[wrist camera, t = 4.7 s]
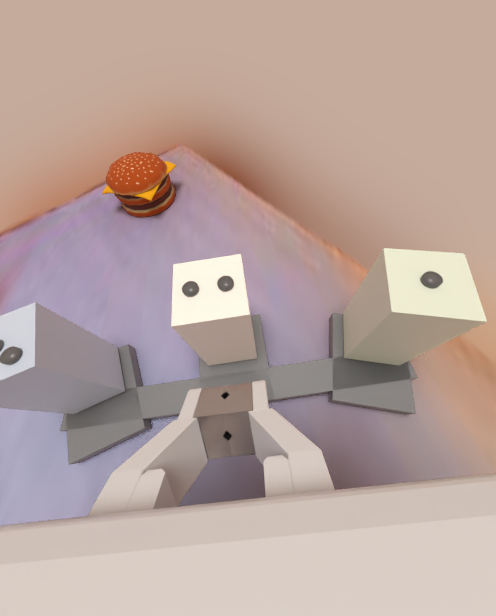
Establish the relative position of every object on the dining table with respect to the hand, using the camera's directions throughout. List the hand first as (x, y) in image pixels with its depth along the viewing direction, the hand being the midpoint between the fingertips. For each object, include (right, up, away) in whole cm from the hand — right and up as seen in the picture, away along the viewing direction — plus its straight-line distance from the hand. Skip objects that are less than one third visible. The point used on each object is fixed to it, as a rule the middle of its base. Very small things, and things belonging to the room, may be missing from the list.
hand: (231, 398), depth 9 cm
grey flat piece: (-1, -4, +15) cm, 16 cm away
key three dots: (-15, -4, +15) cm, 21 cm away
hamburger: (-16, +22, +31) cm, 41 cm away
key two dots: (-1, 0, +15) cm, 15 cm away
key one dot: (+13, +1, +14) cm, 19 cm away
